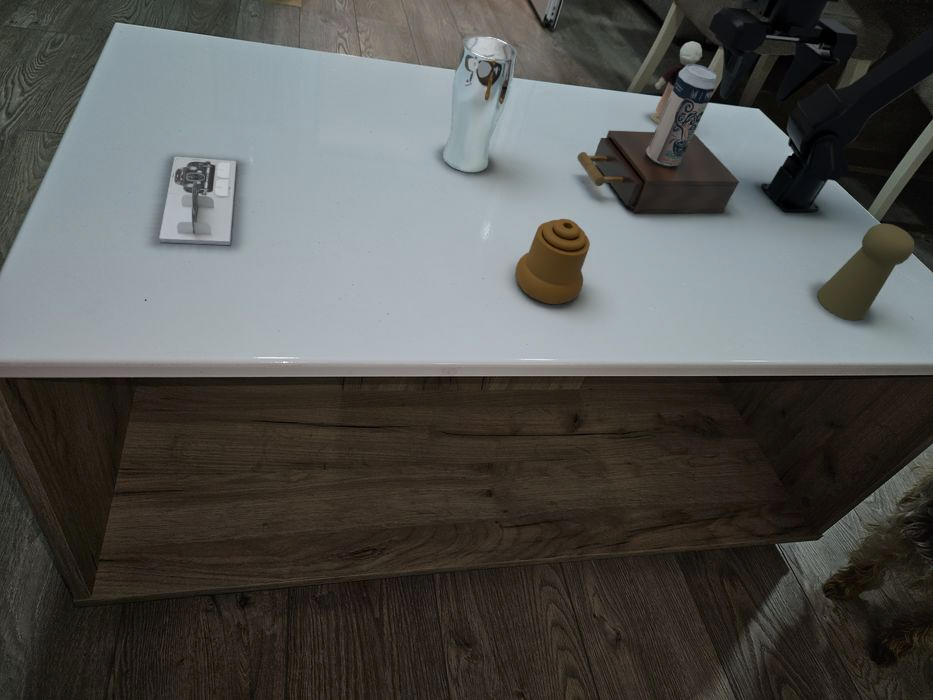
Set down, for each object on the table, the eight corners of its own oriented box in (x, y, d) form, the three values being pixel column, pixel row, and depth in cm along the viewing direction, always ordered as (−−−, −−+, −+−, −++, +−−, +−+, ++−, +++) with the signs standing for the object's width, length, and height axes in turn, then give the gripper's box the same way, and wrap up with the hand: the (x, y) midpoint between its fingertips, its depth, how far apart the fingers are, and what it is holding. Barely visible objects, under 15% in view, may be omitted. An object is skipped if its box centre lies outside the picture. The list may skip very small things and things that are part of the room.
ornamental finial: (501, 285, 74) (531, 254, 79) (562, 318, 72) (589, 284, 77) (519, 225, 68) (551, 195, 74) (586, 258, 67) (613, 226, 72)
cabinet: (634, 213, 90) (648, 180, 86) (596, 162, 98) (608, 130, 94) (722, 212, 95) (739, 181, 91) (680, 163, 102) (694, 133, 99)
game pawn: (861, 328, 82) (922, 256, 74) (812, 304, 83) (867, 230, 76) (868, 303, 86) (926, 232, 78) (821, 281, 87) (874, 209, 80)
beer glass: (430, 161, 89) (451, 45, 78) (451, 140, 94) (474, 28, 83) (479, 181, 88) (507, 66, 77) (498, 158, 93) (526, 48, 82)
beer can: (662, 171, 89) (703, 82, 80) (637, 152, 91) (674, 63, 83) (686, 165, 91) (728, 78, 83) (661, 147, 94) (699, 60, 85)
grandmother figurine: (672, 113, 114) (705, 37, 106) (686, 125, 112) (721, 48, 103) (636, 115, 111) (667, 36, 102) (649, 127, 109) (683, 48, 100)
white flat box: (230, 245, 70) (228, 208, 67) (159, 242, 68) (153, 204, 65) (236, 164, 80) (234, 129, 77) (174, 159, 78) (170, 123, 75)
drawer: (598, 206, 88) (607, 183, 86) (566, 158, 95) (573, 136, 92) (710, 205, 94) (721, 184, 91) (672, 161, 101) (682, 140, 98)
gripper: (834, -44, 88) (772, 74, 99) (715, -62, 82) (663, 66, 93) (893, -9, 81) (819, 113, 92) (768, -27, 75) (704, 107, 86)
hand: (751, 99), depth 91 cm, fingers open, 9 cm apart
